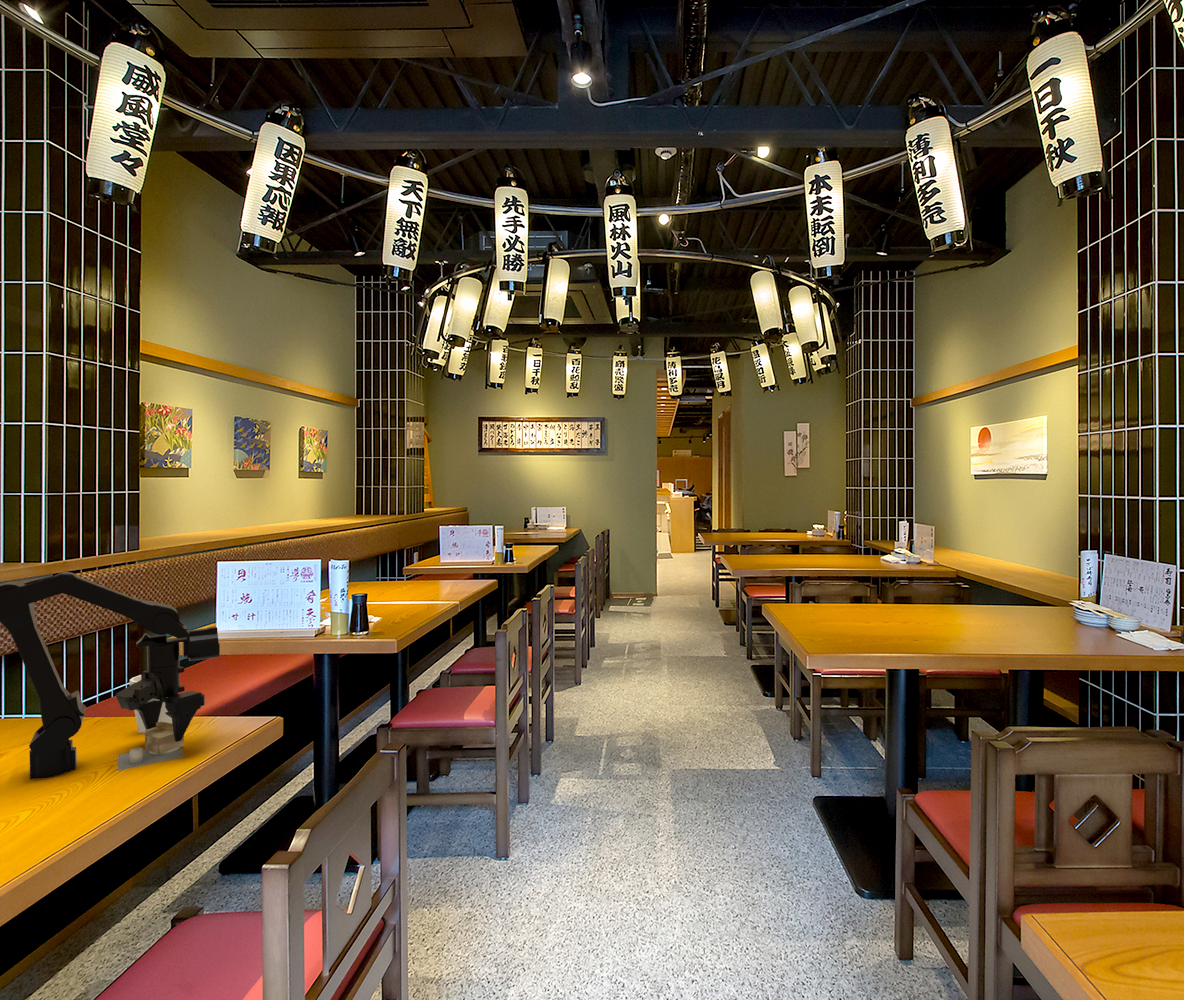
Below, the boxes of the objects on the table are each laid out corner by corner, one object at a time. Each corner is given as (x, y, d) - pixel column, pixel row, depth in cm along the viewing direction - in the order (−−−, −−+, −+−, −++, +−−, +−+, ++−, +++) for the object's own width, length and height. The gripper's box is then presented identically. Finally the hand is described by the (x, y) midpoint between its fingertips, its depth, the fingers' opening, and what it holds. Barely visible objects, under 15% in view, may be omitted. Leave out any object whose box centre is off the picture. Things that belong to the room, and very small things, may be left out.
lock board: (117, 775, 127) (117, 757, 127) (118, 759, 135) (118, 742, 135) (183, 761, 133) (183, 744, 133) (181, 747, 141) (180, 731, 141)
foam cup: (120, 737, 148) (119, 680, 148) (158, 723, 157) (157, 670, 157) (152, 741, 145) (151, 683, 145) (188, 727, 154) (187, 672, 154)
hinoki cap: (145, 750, 136) (144, 725, 136) (169, 742, 140) (168, 718, 140) (159, 753, 134) (159, 728, 134) (183, 745, 138) (183, 721, 138)
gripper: (95, 669, 134) (96, 744, 134) (150, 678, 126) (152, 758, 126) (151, 657, 144) (152, 727, 144) (206, 665, 136) (207, 739, 136)
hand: (164, 738), depth 137 cm, fingers open, 9 cm apart
